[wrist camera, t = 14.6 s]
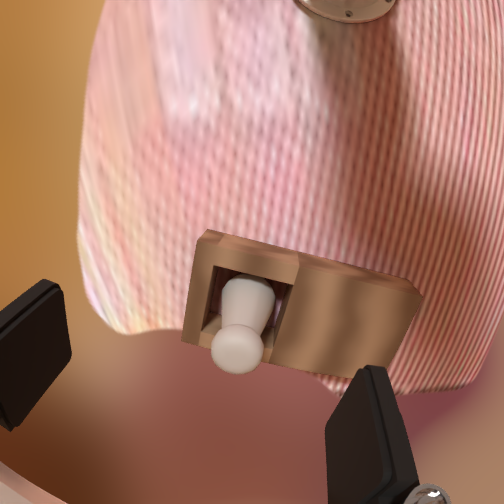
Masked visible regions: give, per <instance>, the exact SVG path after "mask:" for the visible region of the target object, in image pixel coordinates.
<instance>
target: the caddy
mask: <svg viewBox="0 0 504 504" xmlns="http://www.w3.org/2000/svg"><path fill="white" fill-rule="evenodd" d="M218 266H220V267H224V268H228V269H231V270H235V271H239V272H243V273H247V274H251V275H255V276H260V277H264V278H268V279H272V280H276V281H280V282H284V283H288V284H287V288H286V291H285V294H284V298H283V301H282V304H281V307H280V311H279V314H278V317H277V320H276V323H275V326H274V328H272V327H268V326H265V327H264V329H263V331H262V333H261V335H260V338H261V340H262V342H263V345H264V350H263V356H262V360H261V362H265V363H270V364H274V365H279V366H284V367H289V368H294V369H299V370H304V371H309V372H315V373H320V374H326V375H332V376H338V377H344V378H351V379H353V378H354V376H355V374H356V372H357V370H358V369H359V368H362V369H363V368H364V366H366V365H375V366H382V367H385V368H386V370H387V368H388V366H389V365H390V363H391V361H392V359H393V357H394V355H395V353H396V352H397V350H398V348H399V346H400V344H401V342H402V340H403V338H404V336H405V334H406V332H407V330H408V328H409V326H410V324H411V322H412V320H413V317H414V315H415V313H416V311H417V309H418V307H419V304H420V302H421V300H422V298H423V296H422V295H421V294H420V293H419V291H418V290H417V289H416V288H415V287H414V286H413V284H412V283H411V282H410V281H409V280H407V279H403V278H399V277H395V276H391V275H388V274H384V273H380V272H376V271H372V270H368V269H364V268H361V267H357V266H353V265H349V264H345V263H341V262H337V261H333V260H329V259H326V258H322V257H318V256H314V255H310V254H306V253H302V252H298V251H294V250H290V249H286V248H282V247H278V246H274V245H270V244H266V243H262V242H258V241H254V240H250V239H246V238H242V237H238V236H234V235H230V234H226V233H221V232H217V231H213V230H209V229H207V230H206V231H205V232H204V234H203V235H202V236H201V237H200V238H199V239H198V240H197V244H196V250H195V255H194V261H193V267H192V273H191V279H190V285H189V291H188V298H187V304H186V311H185V318H184V324H183V331H182V339H181V341H183V342H186V343H190V344H193V345H197V346H200V347H204V348H208V349H211V342H212V340H213V338H214V337H215V335H216V334H217V333H218V331H219V330H220V329H222V315H219V314H215V313H212V312H209V311H210V306H211V301H212V296H213V291H214V286H215V281H216V276H217V271H218Z"/></svg>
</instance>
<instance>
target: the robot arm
mask: <svg viewBox="0 0 504 504" xmlns="http://www.w3.org/2000/svg"><path fill="white" fill-rule="evenodd" d="M298 1H299V2H301V3H302V4H303V5H304V6H305V7H307V8H308V9H310V10H311V11H313V12H315V13H317V14H319V15H321V16H323V17H326V18H329V19H332V20H335V21H340V22H345V23H363V22H369V21H372V20H376V19H378V18H380V17H382V16H383V15H384V14H386V13H387V12H388V11H389V10H390V8H391V7H392V6H393V4H394V2H395V0H298ZM346 15H348V16H349V17H347V16H346ZM71 356H72V351H71V345H70V340H69V334H68V326H67V319H66V311H65V304H64V294H63V291H62V290H61V288H60V286H59V285H58V284H57V283H54V282H52V281H49V280H46V279H42V280H40V281H39V282H38V283H36V284H35V285H34V286H32V287H31V288H30V289H28V290H27V291H26V292H24V293H23V294H22V295H21V296H20V297H18V298H17V299H15V300H14V301H13V302H11V303H10V304H9V305H8V306H6V307H5V308H4V309H3V310H1V311H0V425H1V426H3V427H4V428H6V429H7V430H8V431H10V432H11V431H12V430H13V428H14V427H18V426H19V425H20V424H21V423H22V422H23V420H24V419H25V418H26V416H27V415H28V414H29V412H30V411H31V409H32V408H33V407H34V406H35V404H36V403H37V402H38V400H39V399H40V398H41V397H42V395H43V394H44V393H45V391H46V390H47V389H48V388H49V386H50V385H51V384H52V382H53V381H54V380H55V379H56V378H57V376H58V375H59V374H60V373H61V371H62V370H63V369H64V368H65V366H66V365H67V364H68V362H69V361H70V359H71ZM325 444H326V462H327V486H328V504H451V501H450V498H449V496H448V494H447V493H446V492H445V491H444V490H443V489H442V488H441V487H439V486H437V485H434V484H422V485H420V483H419V479H418V475H417V470H416V466H415V462H414V458H413V454H412V451H411V447H410V443H409V440H408V436H407V432H406V429H405V425H404V422H403V419H402V416H401V413H400V412H399V409H398V405H397V402H396V399H395V395H394V392H393V389H392V386H391V383H390V380H389V377H388V374H387V371H386V368H385V367H382V366H375V365H366V366H364V368H363V369H362V368H359V369H358V370H357V372H356V374H355V376H354V378H353V379H352V381H351V383H350V385H349V386H348V388H347V390H346V392H345V393H344V395H343V397H342V399H341V400H340V402H339V404H338V405H337V407H336V409H335V410H334V412H333V414H332V415H331V417H330V419H329V420H328V422H327V424H326V427H325ZM0 504H67V503H65V502H63V501H61V500H60V499H58V498H56V497H54V496H53V495H51V494H49V493H47V492H46V491H44V490H42V489H40V488H39V487H37V486H35V485H34V484H32V483H31V482H29V481H27V480H26V479H24V478H23V477H21V476H20V475H18V474H17V473H15V472H14V471H12V470H11V469H10V468H8V467H7V466H5V465H4V464H3V463H1V462H0Z"/></svg>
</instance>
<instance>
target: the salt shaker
mask: <svg viewBox="0 0 504 504" xmlns="http://www.w3.org/2000/svg"><path fill="white" fill-rule="evenodd" d="M221 302H222V329H220V330H219V331H218V333H217V334H216V335H215V337H214V338H213V340H212V342H211V357H212V359H213V361H214V363H215V365H217V366H218V367H219V368H221V369H222V370H223V371H226V372H229V373H232V374H246V373H249V372H251V371H253V370H255V369H256V368H257V366H258V365H259V364H260V362H261V360H262V356H263V350H264V345H263V342H262V340H261V338H260V335H261V333H262V331H263V329H264V327H265V325H266V323H267V321H268V319H269V317H270V315H271V313H272V311H273V309H274V304H275V294H274V292H273V289H272V286H271V285H270V284H269V283H268V282H267V281H266V280H265V279H264V278H263V277H260V276H255V275H251V274H239V275H237V276H235V277H234V278H232V279H230V280H229V281H228V282H227V284H226V285H225V287H224V288H223V290H222V301H221Z"/></svg>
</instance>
